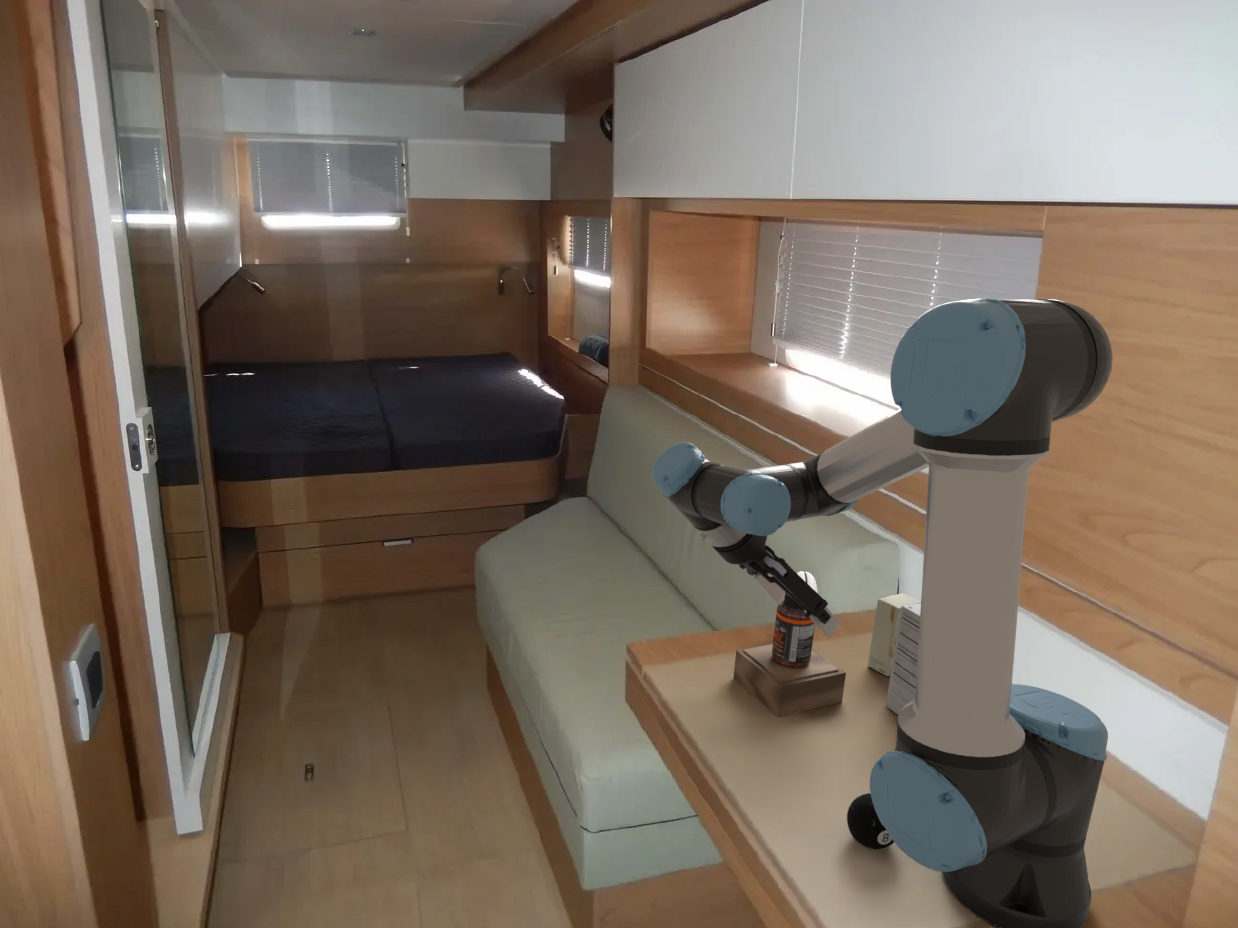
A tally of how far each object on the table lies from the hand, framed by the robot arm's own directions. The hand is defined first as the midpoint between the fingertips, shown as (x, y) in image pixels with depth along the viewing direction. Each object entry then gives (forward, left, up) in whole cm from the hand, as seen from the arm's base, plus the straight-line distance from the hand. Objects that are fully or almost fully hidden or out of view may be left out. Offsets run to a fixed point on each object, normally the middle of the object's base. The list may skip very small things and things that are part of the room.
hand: (806, 612), depth 137 cm
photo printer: (+13, -10, -13) cm, 21 cm away
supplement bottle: (0, +2, -8) cm, 8 cm away
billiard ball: (-33, +14, -13) cm, 38 cm away
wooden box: (0, +2, -13) cm, 13 cm away
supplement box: (-14, -14, -13) cm, 24 cm away
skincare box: (0, -19, -13) cm, 23 cm away
